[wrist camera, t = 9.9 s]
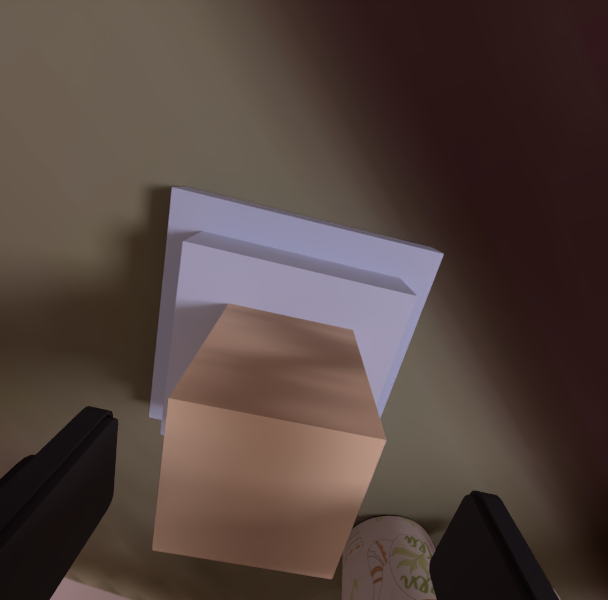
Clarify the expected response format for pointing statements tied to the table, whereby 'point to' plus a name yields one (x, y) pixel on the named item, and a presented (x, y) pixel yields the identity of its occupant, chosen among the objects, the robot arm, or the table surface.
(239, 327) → the beech block
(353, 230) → the plinth
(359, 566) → the mug
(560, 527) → the table surface
